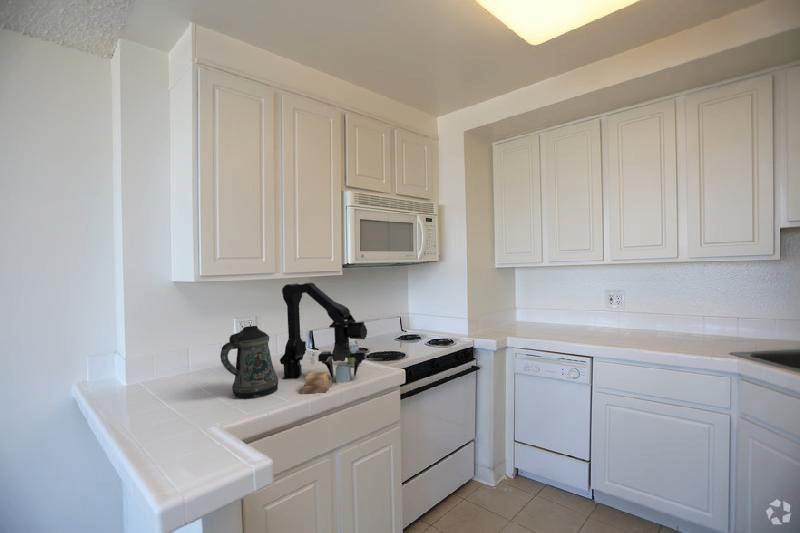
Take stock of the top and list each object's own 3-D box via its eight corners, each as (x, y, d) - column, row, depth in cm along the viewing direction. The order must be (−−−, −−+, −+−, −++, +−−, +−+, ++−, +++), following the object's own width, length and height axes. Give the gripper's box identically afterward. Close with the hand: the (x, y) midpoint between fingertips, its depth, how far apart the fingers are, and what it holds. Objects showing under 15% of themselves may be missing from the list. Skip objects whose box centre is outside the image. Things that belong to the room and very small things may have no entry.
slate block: (336, 383, 151) (335, 368, 151) (339, 379, 156) (338, 364, 156) (348, 382, 151) (348, 367, 150) (351, 378, 156) (350, 364, 155)
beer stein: (287, 385, 150) (284, 322, 150) (256, 403, 132) (252, 332, 131) (251, 384, 155) (248, 323, 155) (216, 401, 136) (213, 331, 136)
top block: (305, 386, 141) (305, 378, 141) (310, 380, 148) (310, 372, 148) (324, 385, 140) (323, 377, 140) (328, 379, 147) (328, 372, 147)
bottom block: (302, 395, 139) (301, 387, 139) (309, 387, 148) (308, 379, 148) (326, 394, 139) (325, 386, 139) (331, 386, 148) (331, 379, 148)
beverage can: (360, 367, 172) (359, 341, 172) (344, 368, 172) (343, 341, 172) (362, 363, 178) (361, 338, 178) (346, 364, 178) (345, 339, 178)
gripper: (313, 343, 146) (315, 384, 146) (361, 341, 144) (363, 382, 145) (321, 337, 157) (322, 375, 157) (365, 336, 156) (367, 374, 156)
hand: (343, 376), depth 153 cm, fingers open, 9 cm apart
